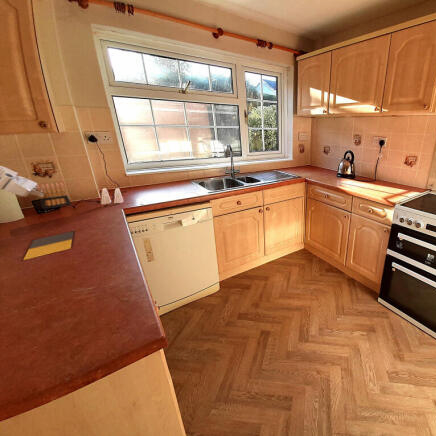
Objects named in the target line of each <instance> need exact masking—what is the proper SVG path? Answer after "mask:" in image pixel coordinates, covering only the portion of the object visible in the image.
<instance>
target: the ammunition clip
mask: <svg viewBox="0 0 436 436" xmlns="http://www.w3.org/2000/svg"><path fill="white" fill-rule="evenodd" d="M40 186H41V187H40ZM40 186H39V184H37V185H36V188H37V191H38V192H42V191H43V193H44V194H45V195H44V196H43V197H40V196H38V197H39V202H40V205H41V207H42V209H43V210H44V209H45V210H46V209H51V208H59V207H65V206H66V207H67V206H72V202H71V199H70V197H69V194H68V191H67V189H66V187H65V185H64V183H63V182H62V181H60V185H59V183H58V182H57V181H56V182H55V185H54V183H53V182H51V183H50V185H49V183H46V187H45V185H44V184H43V183H41V185H40ZM50 186H51V187H50Z"/></svg>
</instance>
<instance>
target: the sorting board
mask: <svg viewBox="0 0 436 436" xmlns="http://www.w3.org/2000/svg"><path fill="white" fill-rule="evenodd" d="M74 232H75V231H69V232H68V231H67V232H64V233H60V234H59V233H58V234H54V235H50V236H47V237H41V238H37V239H34V240H32V242H31V245H29V248H28V250H27V252H26V253H25V256H24V258H23V259H22V260H23V261H25V260H30V259H35V258H37V257H42V256H45V255H49V254H55V253H57V252H61V251H62V252H63V251H66V250H69V249H72V241H73V237H74Z"/></svg>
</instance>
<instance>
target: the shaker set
mask: <svg viewBox="0 0 436 436" xmlns="http://www.w3.org/2000/svg"><path fill="white" fill-rule="evenodd" d="M122 195H123V194H122V193H121V190H120V188H119V187H117V188H115V190H114V200H113V201H114V202H113V204H122V203H123V202H125V201H124V197H123V196H122ZM111 203H112V200H111V197H110V194H109V191H108V189H107V188H106V187H103V188H102V190H101V200H100V204H101V205H103V206H108V205H111Z"/></svg>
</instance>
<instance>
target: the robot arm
mask: <svg viewBox="0 0 436 436" xmlns="http://www.w3.org/2000/svg"><path fill="white" fill-rule="evenodd" d="M18 174H19V173H18V172H16V171H14V170H12V169H10V168H8V167H6V166H3V165H0V190H1V191H2V190H4V191H6V192H8V193H11V194H15V195H17V196H20V197H27V196H28V195H29V194H30V195H32V196H38V197H39V196H40V197H43V196H44V195H45V194H44V193H43V190H41V191H42V192H38V191H37V188H36V185H38V182H35V181H33V180H31V179H29V178H27V177H23V176H21V175H18Z"/></svg>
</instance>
